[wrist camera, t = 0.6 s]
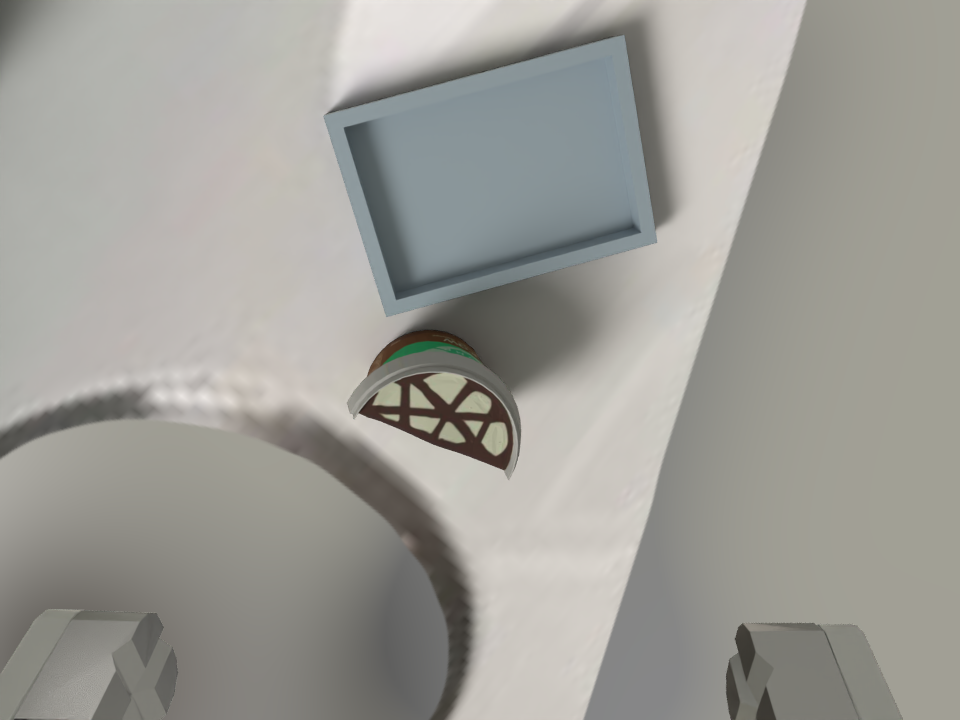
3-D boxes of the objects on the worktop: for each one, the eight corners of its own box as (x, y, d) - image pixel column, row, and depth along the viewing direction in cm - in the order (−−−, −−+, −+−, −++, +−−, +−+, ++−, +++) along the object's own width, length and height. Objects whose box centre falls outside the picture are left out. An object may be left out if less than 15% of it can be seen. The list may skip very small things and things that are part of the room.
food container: (531, 353, 58) (559, 406, 49) (495, 418, 60) (515, 482, 50) (385, 288, 55) (385, 332, 46) (352, 359, 56) (345, 416, 47)
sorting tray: (326, 113, 50) (323, 115, 48) (613, 36, 50) (624, 34, 48) (386, 306, 55) (386, 316, 53) (646, 235, 56) (657, 242, 53)
